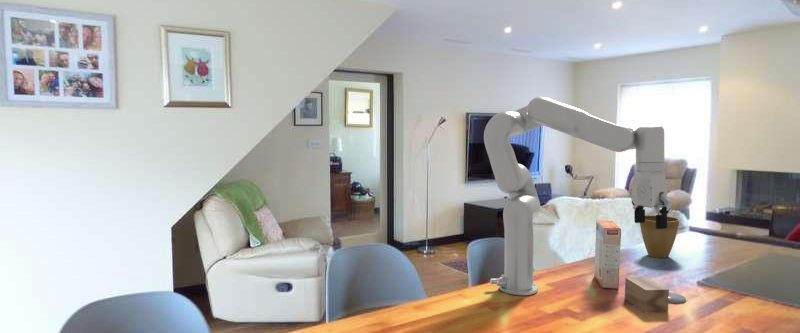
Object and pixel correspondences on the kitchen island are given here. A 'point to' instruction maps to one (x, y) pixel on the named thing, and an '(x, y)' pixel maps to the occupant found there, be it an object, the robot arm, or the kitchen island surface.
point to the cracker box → (607, 254)
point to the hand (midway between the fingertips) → (650, 225)
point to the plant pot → (659, 236)
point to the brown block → (646, 294)
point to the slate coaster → (676, 298)
